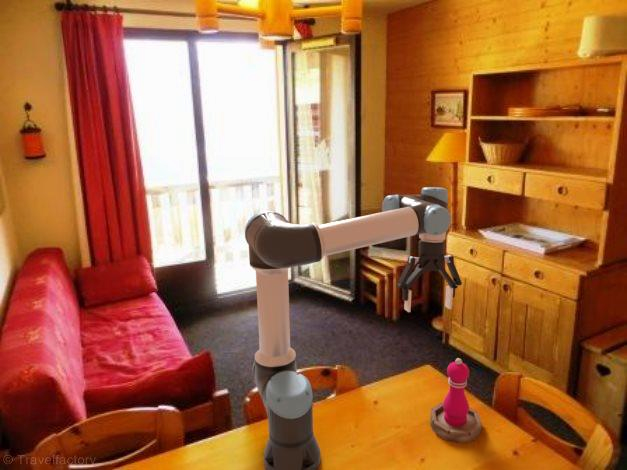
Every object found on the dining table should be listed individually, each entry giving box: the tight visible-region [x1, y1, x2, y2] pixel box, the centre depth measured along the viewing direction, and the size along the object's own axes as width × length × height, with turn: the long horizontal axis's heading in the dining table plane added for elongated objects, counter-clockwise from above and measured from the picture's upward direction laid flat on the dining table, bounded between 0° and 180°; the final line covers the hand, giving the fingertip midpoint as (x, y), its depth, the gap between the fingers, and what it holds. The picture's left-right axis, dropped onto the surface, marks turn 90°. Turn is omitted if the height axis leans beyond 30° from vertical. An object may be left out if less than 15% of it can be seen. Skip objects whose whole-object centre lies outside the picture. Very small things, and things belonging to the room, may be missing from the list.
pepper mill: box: [443, 357, 470, 427], centre depth 133 cm, size 7×7×20 cm
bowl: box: [429, 401, 483, 444], centre depth 135 cm, size 14×14×3 cm
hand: (428, 309), depth 141 cm, fingers open, 13 cm apart
